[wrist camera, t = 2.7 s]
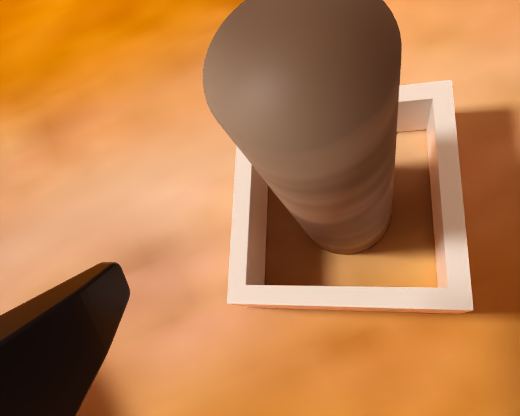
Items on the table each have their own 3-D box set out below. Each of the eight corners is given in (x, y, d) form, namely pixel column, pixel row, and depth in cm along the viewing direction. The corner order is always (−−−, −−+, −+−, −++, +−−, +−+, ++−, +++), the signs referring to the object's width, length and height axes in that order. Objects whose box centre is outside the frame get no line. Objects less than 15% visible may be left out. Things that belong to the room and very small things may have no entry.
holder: (459, 313, 18) (473, 310, 15) (247, 307, 21) (226, 303, 18) (442, 113, 21) (451, 79, 18) (256, 130, 23) (239, 103, 21)
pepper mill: (363, 271, 20) (333, 186, 8) (285, 227, 21) (168, 105, 10) (408, 192, 20) (440, 4, 9) (328, 155, 22) (265, -44, 10)
